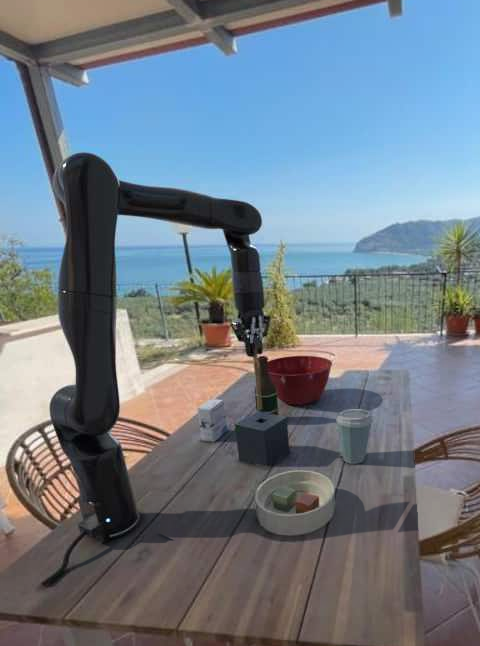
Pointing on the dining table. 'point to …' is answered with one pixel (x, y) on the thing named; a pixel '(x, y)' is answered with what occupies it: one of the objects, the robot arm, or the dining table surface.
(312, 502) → the terracotta block
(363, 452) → the disposable coffee cup
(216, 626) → the dining table surface
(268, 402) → the beer bottle
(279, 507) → the sage block
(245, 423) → the stick stand
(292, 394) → the mixing bowl
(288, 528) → the bowl
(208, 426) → the ink box
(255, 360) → the stirring stick
